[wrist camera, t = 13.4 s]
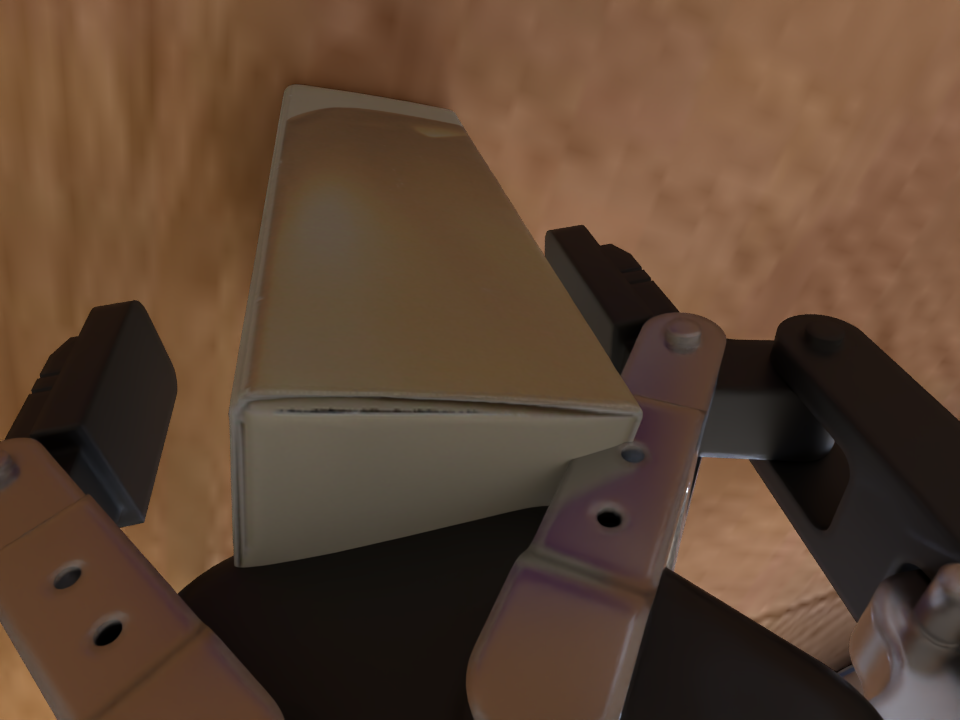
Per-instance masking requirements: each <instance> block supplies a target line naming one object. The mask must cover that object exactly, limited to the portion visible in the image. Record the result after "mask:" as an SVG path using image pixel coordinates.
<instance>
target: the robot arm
mask: <svg viewBox="0 0 960 720" xmlns="http://www.w3.org/2000/svg"><path fill="white" fill-rule="evenodd" d="M545 257H546V259H547V261H548V262H549V264H550V265H551V267H552V269H553V270H554V272H555V273H556V275H557V276H558V278H559V279H560V281H561V283H562V284H563V286H564V287H565V289H566V290H567V292H568V293H569V295H570V297H571V298H572V300H573V302H574V303H575V305H576V306H577V308H578V309H579V311H580V313H581V314H582V316H583V317H584V319H585V320H586V322H587V324H588V325H589V327H590V328H591V330H592V331H593V333H594V335H595V336H596V338H597V339H598V341H599V342H600V344H601V346H602V347H603V349H604V350H605V352H606V353H607V355H608V357H609V358H610V360H611V362H612V364H613V365H614V367H615V369H616V370H617V372H618V373H619V375H620V376H621V378H622V379H623V381H624V382H625V384H626V385H627V387H628V388H629V390H630V392H631V393H632V395H633V397H634V398H635V400H636V401H637V403H638V405H639V406H640V408H641V409H642V411H643V418H642V421H641V423H640V425H639V428H638V430H637V433H636V435H635V438H634V440H633V442H624V443H622V444H619V445H617V446H614V447H612V448H608V449H605V450H602V451H598V452H595V453H592V454H589V455H585V456H582V457H578V458H575V459H571V460H570V462H569V464H568V466H567V468H566V470H565V472H564V475H563V477H562V479H561V481H560V483H559V485H558V488H557V490H556V492H555V494H554V496H553V498H552V500H551V503H550V505H549V506H539V507H531V508H525V509H521V510H516V511H511V512H507V513H503V514H499V515H494V516H490V517H486V518H482V519H478V520H473V521H469V522H465V523H461V524H457V525H452V526H448V527H444V528H440V529H436V530H431V531H427V532H423V533H419V534H414V535H410V536H406V537H402V538H397V539H393V540H389V541H384V542H380V543H375V544H371V545H367V546H362V547H358V548H353V549H349V550H344V551H340V552H336V553H331V554H326V555H320V556H315V557H310V558H305V559H299V560H294V561H288V562H282V563H276V564H270V565H264V566H254V567H236V566H234V556H232V557H230V558H228V559H226V560H224V561H222V562H221V563H219V564H217V565H215V566H213V567H212V568H210V569H209V570H207V571H206V572H204V573H203V574H201V575H200V576H198V577H197V578H196V579H195V580H193V581H192V582H191V583H190V584H188V585H187V586H186V587H185V588H184V589H182V590H181V591H180V592H179V593H178V594H177V593H176V592H175V591H174V589H173V588H172V587H171V586H170V585H169V584H168V583H167V582H166V580H165V579H164V578H163V577H162V576H161V575H160V574H159V572H158V571H157V570H156V569H155V568H154V567H153V566H152V564H151V563H150V562H149V561H148V560H147V559H146V558H145V556H144V555H143V554H142V553H141V552H140V551H139V550H138V549H137V547H136V546H135V545H134V544H133V543H132V542H131V541H130V539H129V538H128V537H127V536H126V535H125V534H124V533H123V531H122V530H121V529H120V528H121V527H126V526H130V525H135V524H140V523H144V521H145V517H146V513H147V509H148V505H149V501H150V497H151V493H152V490H153V486H154V482H155V478H156V474H157V470H158V466H159V462H160V458H161V454H162V450H163V446H164V443H165V439H166V435H167V431H168V427H169V423H170V419H171V415H172V411H173V407H174V403H175V399H176V395H177V379H176V374H175V370H174V367H173V364H172V362H171V360H170V358H169V356H168V354H167V352H166V350H165V348H164V346H163V344H162V342H161V340H160V338H159V335H158V333H157V331H156V329H155V327H154V325H153V323H152V321H151V319H150V317H149V315H148V313H147V311H146V309H145V308H144V306H143V305H142V304H141V303H140V302H139V301H137V300H133V301H127V302H121V303H116V304H110V305H104V306H98V307H94V308H93V309H92V310H91V312H90V314H89V316H88V318H87V320H86V322H85V324H84V326H83V328H82V330H81V332H80V334H79V336H76V337H71V338H69V339H68V340H67V341H66V342H65V343H64V344H63V345H61V346H60V347H59V348H58V349H57V350H56V351H55V352H54V353H53V354H51V355H50V356H49V358H48V360H47V362H46V364H45V366H44V367H43V369H42V371H41V373H40V378H39V379H37V380H36V382H35V384H34V386H33V388H32V390H31V391H32V394H29V395H28V397H27V399H26V401H25V403H24V405H23V406H22V408H21V410H20V412H19V414H18V416H17V418H16V419H15V421H14V423H13V425H12V427H11V429H10V431H9V432H8V434H7V436H6V438H5V440H3V441H0V622H1V624H2V626H3V627H4V629H5V631H6V633H7V634H8V636H9V638H10V639H11V641H12V643H13V645H14V646H15V648H16V650H17V651H18V653H19V655H20V657H21V658H22V660H23V662H24V664H25V665H26V667H27V669H28V670H29V672H30V674H31V676H32V677H33V679H34V681H35V682H36V684H37V686H38V688H39V689H40V691H41V693H42V694H43V696H44V698H45V700H46V701H47V703H48V705H49V706H50V708H51V710H52V712H53V713H54V715H55V717H56V718H57V720H960V421H959V420H958V419H957V418H955V417H954V416H953V415H952V414H951V413H950V412H949V411H948V410H947V409H946V408H945V407H944V406H942V405H941V404H940V403H939V402H938V401H937V400H936V399H935V398H934V397H933V396H932V395H930V394H929V393H928V392H927V391H926V390H925V389H924V388H923V387H922V386H921V385H920V384H918V383H917V382H916V381H915V380H914V379H913V378H912V377H911V376H910V375H909V374H908V373H907V372H905V371H904V370H903V369H902V368H901V367H900V366H899V365H898V364H897V363H896V362H895V361H893V360H892V359H891V358H890V357H889V356H888V355H887V354H886V353H885V352H884V351H883V350H881V349H880V348H879V347H878V346H877V345H876V344H875V343H874V342H873V341H872V340H871V339H869V338H868V337H867V336H866V335H865V334H864V333H863V332H862V331H860V330H859V329H858V328H856V327H855V326H853V325H852V324H849V323H847V322H845V321H843V320H840V319H837V318H833V317H830V316H824V315H815V314H805V315H798V316H793V317H790V318H788V319H786V320H784V321H783V322H782V323H780V325H779V326H778V328H777V332H776V335H775V339H774V341H772V340H734V339H726V335H725V333H724V331H723V330H722V329H721V328H720V327H719V326H718V325H717V324H716V323H714V322H713V321H711V320H709V319H707V318H705V317H702V316H699V315H695V314H690V313H680V312H679V311H678V310H677V308H676V307H675V306H674V305H673V304H672V302H671V301H670V300H669V299H668V298H667V297H666V295H665V294H664V293H663V292H662V291H661V289H660V288H659V287H658V286H657V285H656V284H655V282H654V281H651V278H650V276H649V275H648V274H647V273H646V272H645V271H644V270H642V267H641V266H640V265H639V263H638V262H637V261H636V260H635V259H634V258H633V256H632V255H631V254H630V253H628V252H626V251H624V250H622V249H620V248H618V247H616V246H614V245H612V244H606V245H601V246H600V245H599V244H598V243H597V241H596V240H595V239H594V237H593V236H592V235H591V234H590V232H589V231H588V230H587V228H586V227H585V226H584V225H578V226H572V227H566V228H560V229H554V230H549V231H547V232H546V236H545ZM702 457H717V458H737V459H749V460H750V462H751V463H752V465H753V466H754V468H755V470H756V471H757V473H758V474H759V476H760V477H761V479H762V480H763V482H764V483H765V485H766V486H767V488H768V489H769V491H770V492H771V494H772V495H773V497H774V498H775V500H776V501H777V503H778V504H779V506H780V507H781V509H782V510H783V512H784V513H785V515H786V516H787V518H788V519H789V521H790V522H791V524H792V525H793V527H794V529H795V530H796V532H797V533H798V535H799V536H800V538H801V539H802V541H803V542H804V544H805V545H806V547H807V548H808V550H809V551H810V553H811V554H812V556H813V557H814V559H815V560H816V562H817V563H818V565H819V566H820V568H821V569H822V571H823V572H824V574H825V575H826V577H827V578H828V580H829V581H830V583H831V584H832V586H833V588H834V589H835V591H836V592H837V594H838V595H839V597H840V598H841V600H842V601H843V603H844V604H845V606H846V607H847V609H848V610H849V612H850V613H851V615H852V616H853V618H854V619H855V621H856V622H857V624H856V626H855V628H854V630H853V631H852V634H851V637H850V640H849V653H850V658H851V661H852V664H853V667H854V669H855V671H856V673H857V675H858V677H859V680H860V682H861V685H862V688H863V692H864V696H863V695H862V694H861V693H860V692H859V691H858V690H857V689H856V688H855V687H854V686H852V685H851V684H850V683H849V682H848V681H847V680H845V679H844V678H843V677H842V676H841V675H839V674H838V673H836V672H835V671H833V670H832V669H831V668H829V667H828V666H826V665H825V664H823V663H822V662H820V661H819V660H817V659H815V658H814V657H812V656H810V655H809V654H807V653H805V652H804V651H802V650H801V649H799V648H797V647H796V646H794V645H792V644H791V643H789V642H788V641H786V640H784V639H783V638H781V637H779V636H778V635H776V634H774V633H773V632H771V631H770V630H768V629H766V628H765V627H763V626H761V625H760V624H758V623H756V622H755V621H753V620H752V619H750V618H748V617H747V616H745V615H743V614H742V613H740V612H739V611H737V610H735V609H734V608H732V607H730V606H729V605H727V604H725V603H724V602H722V601H721V600H719V599H717V598H716V597H714V596H712V595H711V594H709V593H708V592H706V591H704V590H703V589H701V588H699V587H698V586H696V585H695V584H693V583H691V582H690V581H688V580H686V579H685V578H683V577H681V576H680V575H678V574H677V573H675V572H674V568H675V564H676V560H677V555H678V551H679V546H680V542H681V538H682V534H683V530H684V526H685V522H686V518H687V514H688V511H689V507H690V503H691V499H692V495H693V491H694V487H695V484H696V480H697V476H698V472H699V468H700V464H701V460H702Z"/></svg>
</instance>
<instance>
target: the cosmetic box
mask: <svg viewBox="0 0 960 720" xmlns="http://www.w3.org/2000/svg"><path fill="white" fill-rule="evenodd" d="M642 418H643V411H642V409H641V408H640V406H639V405H638V403H637V401H636V400H635V398H634V397H633V395H632V393H631V392H630V390H629V388H628V387H627V385H626V384H625V382H624V381H623V379H622V378H621V376H620V375H619V373H618V372H617V370H616V369H615V367H614V365H613V364H612V362H611V360H610V358H609V357H608V355H607V353H606V352H605V350H604V349H603V347H602V346H601V344H600V342H599V341H598V339H597V338H596V336H595V335H594V333H593V331H592V330H591V328H590V327H589V325H588V324H587V322H586V320H585V319H584V317H583V316H582V314H581V313H580V311H579V309H578V308H577V306H576V305H575V303H574V302H573V300H572V298H571V297H570V295H569V293H568V292H567V290H566V289H565V287H564V286H563V284H562V283H561V281H560V279H559V278H558V276H557V275H556V273H555V272H554V270H553V269H552V267H551V265H550V264H549V262H548V261H547V259H546V257H545V256H544V254H543V253H542V251H541V250H540V248H539V246H538V245H537V243H536V242H535V240H534V238H533V237H532V235H531V234H530V232H529V230H528V229H527V227H526V226H525V224H524V222H523V221H522V219H521V218H520V216H519V214H518V213H517V211H516V210H515V208H514V206H513V205H512V203H511V202H510V200H509V198H508V197H507V195H506V194H505V192H504V191H503V189H502V187H501V185H500V184H499V182H498V181H497V179H496V178H495V176H494V175H493V173H492V172H491V170H490V169H489V167H488V165H487V164H486V162H485V161H484V159H483V157H482V156H481V154H480V153H479V151H478V150H477V148H476V146H475V145H474V143H473V142H472V140H471V138H470V137H469V135H468V134H467V132H466V130H465V129H464V127H463V125H462V124H461V122H460V121H459V119H458V117H457V116H456V114H455V113H454V112H453V111H452V110H449V109H444V108H438V107H433V106H428V105H423V104H418V103H413V102H408V101H401V100H395V99H390V98H385V97H379V96H372V95H366V94H360V93H354V92H347V91H341V90H334V89H327V88H321V87H314V86H307V85H299V84H295V85H290V86H288V87H287V88H286V89H285V91H284V95H283V100H282V106H281V112H280V118H279V124H278V130H277V136H276V141H275V147H274V153H273V159H272V164H271V170H270V176H269V182H268V187H267V193H266V199H265V205H264V210H263V216H262V222H261V228H260V233H259V239H258V245H257V250H256V256H255V262H254V267H253V273H252V279H251V284H250V290H249V296H248V301H247V307H246V313H245V318H244V324H243V330H242V335H241V341H240V347H239V353H238V359H237V365H236V370H235V376H234V382H233V388H232V394H231V400H230V407H229V424H230V457H231V495H232V526H233V546H234V566H236V567H254V566H264V565H270V564H276V563H282V562H288V561H294V560H299V559H305V558H310V557H315V556H320V555H326V554H331V553H336V552H340V551H344V550H349V549H353V548H358V547H362V546H367V545H371V544H375V543H380V542H384V541H389V540H393V539H397V538H402V537H406V536H410V535H414V534H419V533H423V532H427V531H431V530H436V529H440V528H444V527H448V526H452V525H457V524H461V523H465V522H469V521H473V520H478V519H482V518H486V517H490V516H494V515H499V514H503V513H507V512H511V511H516V510H521V509H525V508H531V507H539V506H549V505H550V503H551V500H552V498H553V496H554V494H555V492H556V490H557V488H558V485H559V483H560V481H561V479H562V477H563V475H564V472H565V470H566V468H567V466H568V464H569V462H570V460H571V459H575V458H578V457H582V456H585V455H589V454H592V453H595V452H598V451H602V450H605V449H608V448H612V447H614V446H617V445H619V444H622V443H624V442H633V440H634V438H635V435H636V433H637V430H638V428H639V425H640V423H641V421H642Z"/></svg>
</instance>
